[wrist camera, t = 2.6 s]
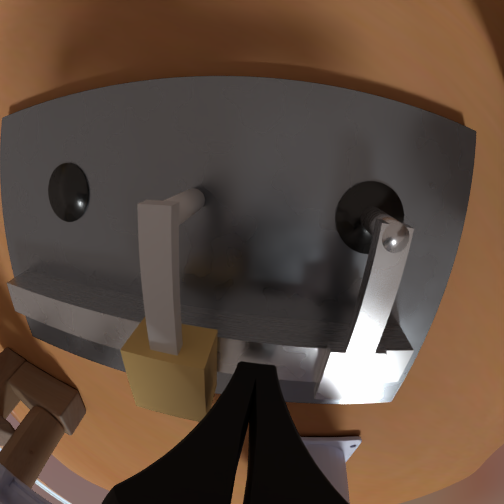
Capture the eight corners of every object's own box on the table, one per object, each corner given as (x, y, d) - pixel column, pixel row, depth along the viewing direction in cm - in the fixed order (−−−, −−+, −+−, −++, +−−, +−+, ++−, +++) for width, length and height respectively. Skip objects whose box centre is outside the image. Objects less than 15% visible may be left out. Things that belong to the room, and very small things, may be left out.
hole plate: (388, 393, 15) (401, 433, 11) (38, 330, 16) (13, 355, 13) (466, 131, 9) (513, 131, 6) (10, 117, 11) (-29, 120, 7)
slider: (223, 359, 13) (206, 423, 9) (166, 348, 13) (136, 405, 9) (233, 189, 10) (205, 212, 6) (158, 185, 10) (99, 205, 7)
